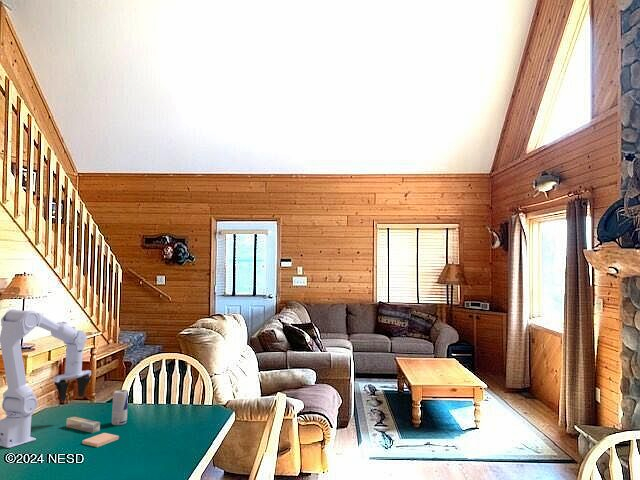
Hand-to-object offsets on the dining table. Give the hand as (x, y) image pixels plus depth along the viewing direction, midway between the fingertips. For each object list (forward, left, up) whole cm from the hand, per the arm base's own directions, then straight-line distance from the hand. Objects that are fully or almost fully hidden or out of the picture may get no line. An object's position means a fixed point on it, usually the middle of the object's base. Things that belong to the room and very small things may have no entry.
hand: (71, 398), depth 188 cm
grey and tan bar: (-2, -9, -10) cm, 13 cm away
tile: (-8, -22, -9) cm, 25 cm away
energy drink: (+9, -15, -10) cm, 20 cm away
